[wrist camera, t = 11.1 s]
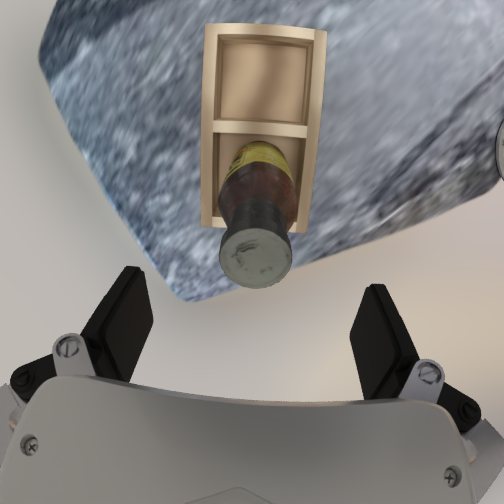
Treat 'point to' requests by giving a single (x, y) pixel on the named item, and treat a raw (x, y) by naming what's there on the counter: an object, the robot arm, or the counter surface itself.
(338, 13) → the counter surface
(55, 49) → the counter surface
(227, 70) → the rail
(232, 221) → the sauce bottle
